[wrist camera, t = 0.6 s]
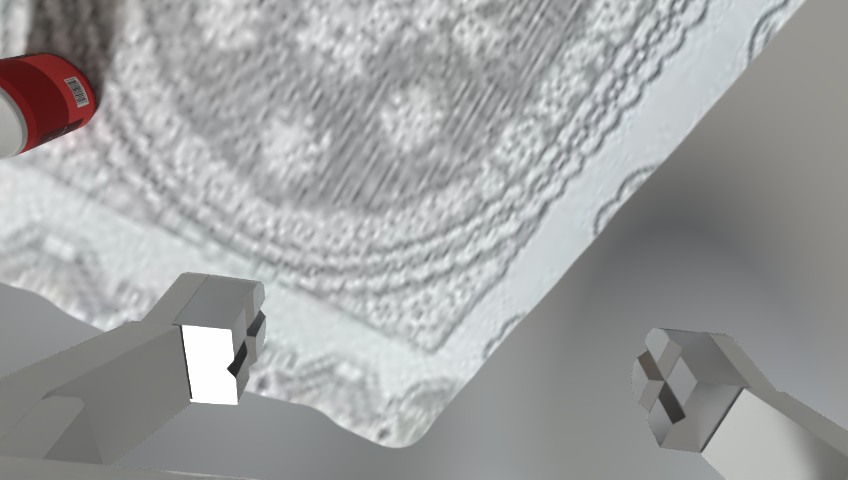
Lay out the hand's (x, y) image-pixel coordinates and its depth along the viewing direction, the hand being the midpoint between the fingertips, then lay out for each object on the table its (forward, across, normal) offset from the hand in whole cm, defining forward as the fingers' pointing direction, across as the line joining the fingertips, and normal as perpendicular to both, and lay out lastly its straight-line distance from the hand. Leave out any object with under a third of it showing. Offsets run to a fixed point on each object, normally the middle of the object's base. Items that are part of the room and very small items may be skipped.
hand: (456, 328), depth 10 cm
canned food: (+44, +39, +10) cm, 60 cm away
